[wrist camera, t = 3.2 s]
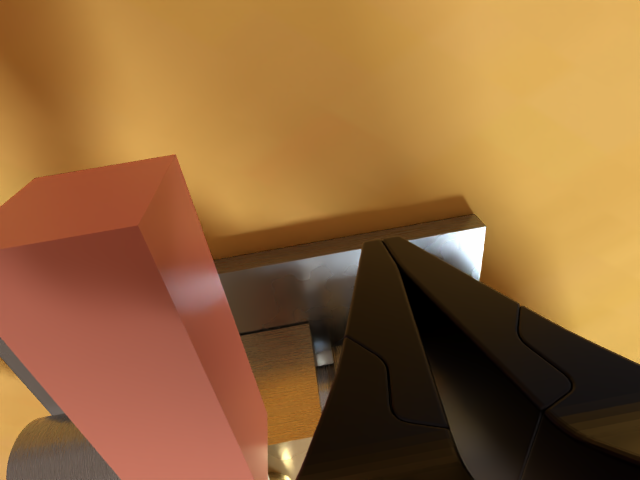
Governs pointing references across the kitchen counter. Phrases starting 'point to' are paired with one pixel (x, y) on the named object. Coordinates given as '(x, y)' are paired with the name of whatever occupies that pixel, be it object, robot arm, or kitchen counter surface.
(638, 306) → the kitchen counter surface
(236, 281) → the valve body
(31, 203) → the lever
